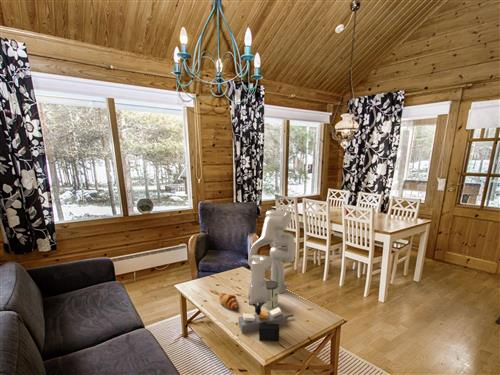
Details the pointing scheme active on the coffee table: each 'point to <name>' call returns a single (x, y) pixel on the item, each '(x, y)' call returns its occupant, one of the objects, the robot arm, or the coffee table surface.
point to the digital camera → (268, 332)
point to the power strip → (254, 325)
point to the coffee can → (271, 295)
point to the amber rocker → (263, 315)
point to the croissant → (228, 300)
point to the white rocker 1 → (248, 317)
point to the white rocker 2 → (275, 312)
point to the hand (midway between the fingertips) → (258, 313)
